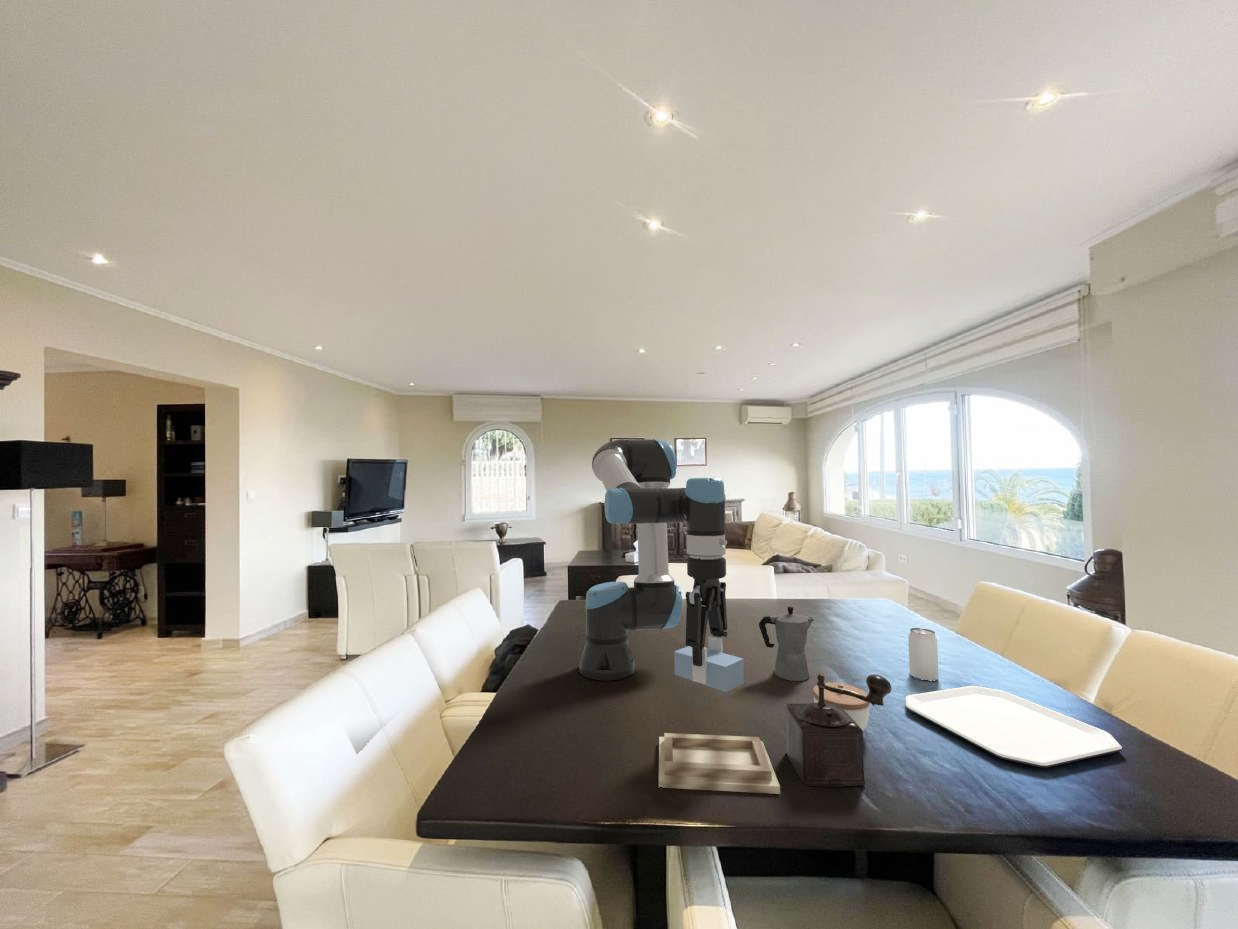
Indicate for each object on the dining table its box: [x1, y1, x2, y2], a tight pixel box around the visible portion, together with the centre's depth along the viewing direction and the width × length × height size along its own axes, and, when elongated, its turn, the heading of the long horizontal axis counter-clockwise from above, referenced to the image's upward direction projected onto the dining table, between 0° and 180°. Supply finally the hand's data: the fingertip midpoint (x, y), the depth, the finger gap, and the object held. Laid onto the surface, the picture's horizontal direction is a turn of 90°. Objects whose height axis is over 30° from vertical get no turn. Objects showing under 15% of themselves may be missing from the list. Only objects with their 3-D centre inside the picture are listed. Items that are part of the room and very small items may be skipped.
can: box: [908, 627, 939, 681], centre depth 126 cm, size 6×6×12 cm
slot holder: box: [658, 732, 781, 795], centre depth 87 cm, size 20×14×3 cm
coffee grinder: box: [785, 673, 892, 788], centre depth 86 cm, size 16×11×18 cm
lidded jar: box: [812, 682, 871, 731], centre depth 99 cm, size 11×11×9 cm
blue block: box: [673, 646, 745, 693], centre depth 93 cm, size 12×6×4 cm, turn 44°
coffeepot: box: [758, 606, 815, 682], centre depth 128 cm, size 15×9×18 cm, turn 95°
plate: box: [904, 685, 1123, 769], centre depth 100 cm, size 29×29×2 cm
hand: (708, 675), depth 93 cm, fingers closed on blue block, 7 cm apart
